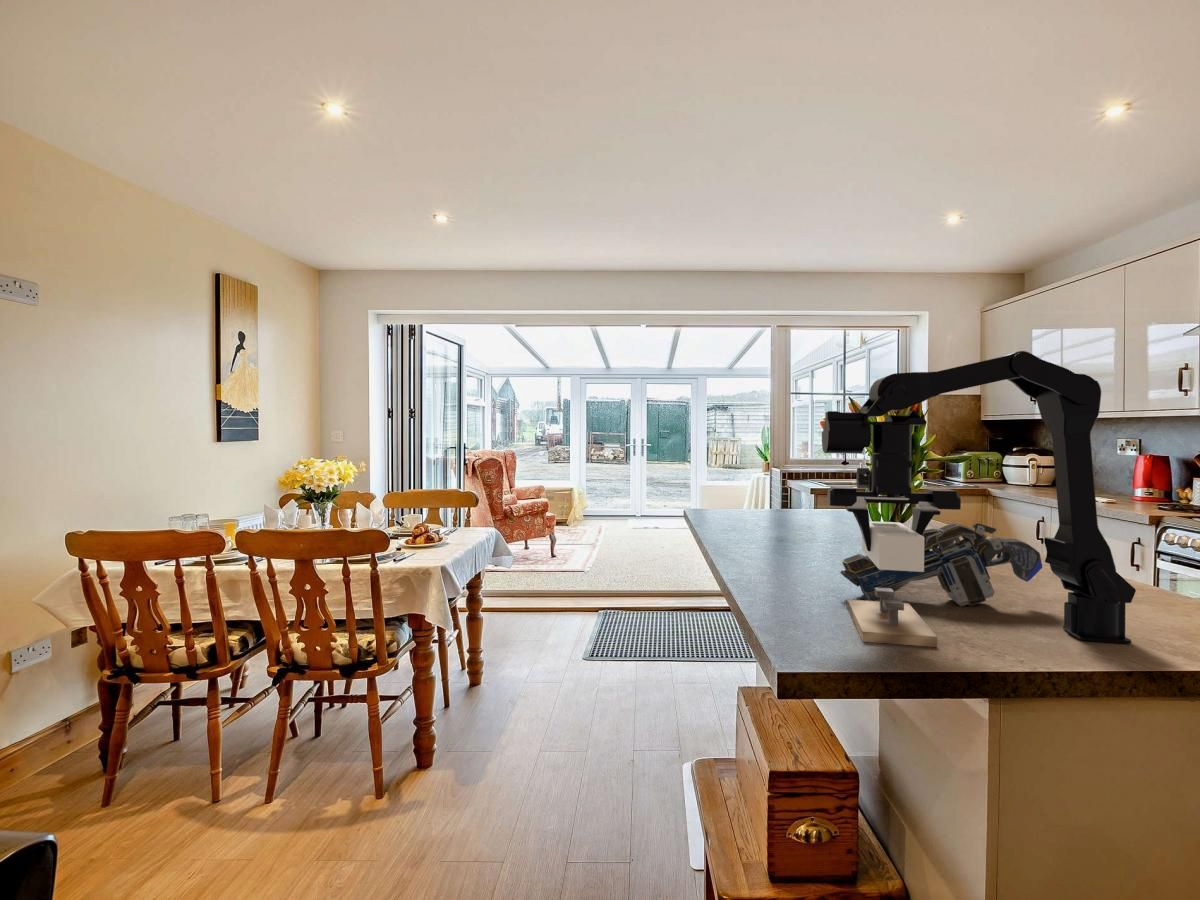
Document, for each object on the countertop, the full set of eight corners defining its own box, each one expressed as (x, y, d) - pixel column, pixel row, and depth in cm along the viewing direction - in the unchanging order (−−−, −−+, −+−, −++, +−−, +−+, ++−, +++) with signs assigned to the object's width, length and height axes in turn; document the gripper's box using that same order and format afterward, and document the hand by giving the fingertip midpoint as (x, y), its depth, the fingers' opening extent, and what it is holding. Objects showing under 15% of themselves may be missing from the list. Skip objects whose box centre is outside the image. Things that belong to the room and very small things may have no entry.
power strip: (862, 549, 111) (862, 521, 111) (899, 551, 109) (899, 522, 109) (879, 569, 93) (879, 535, 93) (924, 571, 92) (924, 537, 92)
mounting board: (908, 611, 111) (908, 582, 111) (936, 646, 92) (936, 611, 92) (847, 607, 114) (847, 579, 114) (862, 641, 95) (862, 607, 94)
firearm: (1058, 581, 110) (1022, 500, 111) (869, 640, 117) (837, 564, 118) (1037, 572, 118) (1003, 496, 119) (862, 628, 125) (831, 556, 126)
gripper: (943, 453, 106) (941, 546, 107) (825, 452, 111) (824, 541, 111) (962, 455, 96) (961, 558, 96) (830, 453, 100) (829, 552, 101)
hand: (890, 551), depth 101 cm, fingers closed on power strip, 6 cm apart
